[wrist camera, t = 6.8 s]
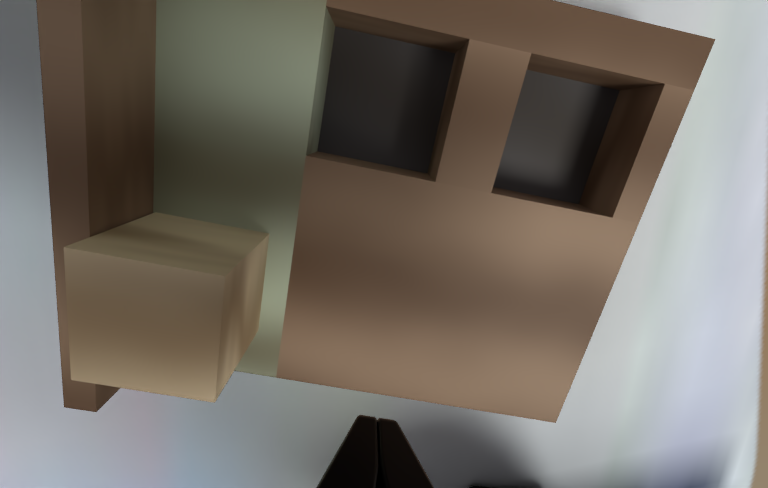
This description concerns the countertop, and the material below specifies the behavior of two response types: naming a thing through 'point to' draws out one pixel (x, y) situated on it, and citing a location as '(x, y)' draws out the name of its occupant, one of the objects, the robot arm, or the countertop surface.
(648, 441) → the countertop surface
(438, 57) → the trap box
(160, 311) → the maple block
